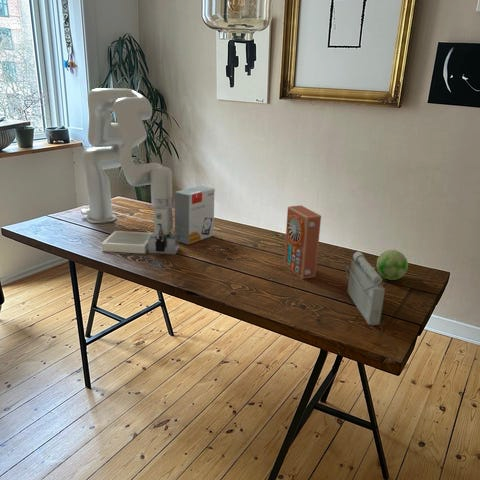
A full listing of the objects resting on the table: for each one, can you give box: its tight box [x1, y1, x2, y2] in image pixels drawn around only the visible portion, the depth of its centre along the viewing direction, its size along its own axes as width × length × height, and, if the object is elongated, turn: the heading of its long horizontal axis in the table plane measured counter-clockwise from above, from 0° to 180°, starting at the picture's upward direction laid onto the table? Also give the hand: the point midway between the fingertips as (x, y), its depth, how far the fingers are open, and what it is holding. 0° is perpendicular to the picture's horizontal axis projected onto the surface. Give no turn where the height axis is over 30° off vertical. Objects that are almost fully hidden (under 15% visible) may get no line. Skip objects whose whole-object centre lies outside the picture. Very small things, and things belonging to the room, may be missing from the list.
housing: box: [147, 231, 180, 255], centre depth 168 cm, size 10×6×6 cm, turn 86°
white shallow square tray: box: [101, 230, 152, 255], centre depth 172 cm, size 16×14×3 cm
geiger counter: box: [345, 251, 386, 326], centre depth 132 cm, size 14×6×25 cm
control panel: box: [283, 205, 322, 280], centre depth 152 cm, size 21×7×15 cm
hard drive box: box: [173, 185, 215, 246], centre depth 179 cm, size 16×8×20 cm, turn 143°
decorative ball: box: [376, 249, 409, 281], centre depth 150 cm, size 10×10×10 cm
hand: (163, 246), depth 169 cm, fingers open, 9 cm apart
